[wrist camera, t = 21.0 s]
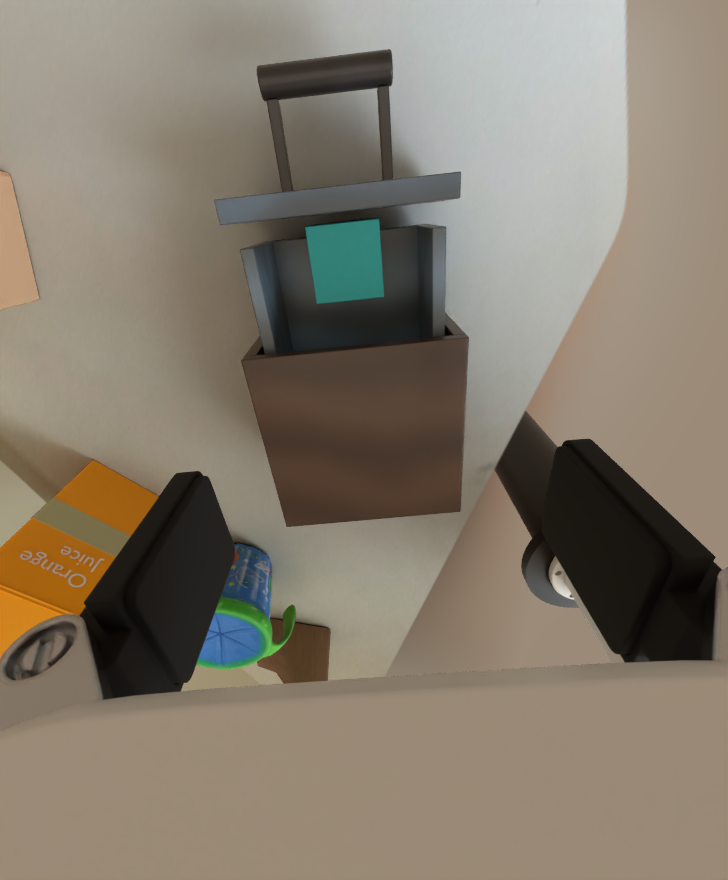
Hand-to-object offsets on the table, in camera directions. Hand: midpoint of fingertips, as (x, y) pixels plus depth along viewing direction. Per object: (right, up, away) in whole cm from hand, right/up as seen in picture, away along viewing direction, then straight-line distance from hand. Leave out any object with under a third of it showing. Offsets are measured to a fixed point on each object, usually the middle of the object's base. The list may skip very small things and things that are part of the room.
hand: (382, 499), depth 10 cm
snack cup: (-16, -13, +37) cm, 42 cm away
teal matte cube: (-2, +15, +17) cm, 23 cm away
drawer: (-2, +16, +18) cm, 24 cm away
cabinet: (-1, +6, +25) cm, 26 cm away
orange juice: (-28, -5, +31) cm, 42 cm away
